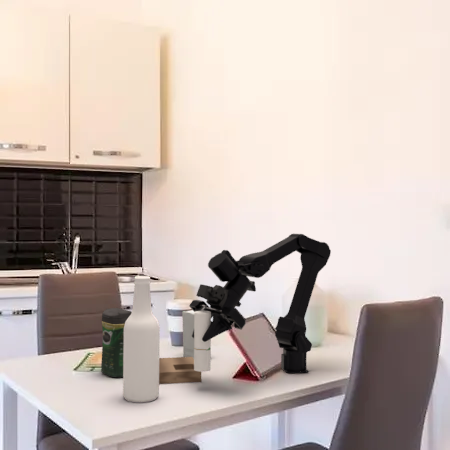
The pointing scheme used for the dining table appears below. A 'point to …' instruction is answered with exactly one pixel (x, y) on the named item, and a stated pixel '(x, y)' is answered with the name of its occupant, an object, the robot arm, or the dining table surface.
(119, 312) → the coffee jar
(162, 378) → the wooden block with hole
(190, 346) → the skincare box
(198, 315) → the tube
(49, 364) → the dining table surface
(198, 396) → the dining table surface
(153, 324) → the alcohol
